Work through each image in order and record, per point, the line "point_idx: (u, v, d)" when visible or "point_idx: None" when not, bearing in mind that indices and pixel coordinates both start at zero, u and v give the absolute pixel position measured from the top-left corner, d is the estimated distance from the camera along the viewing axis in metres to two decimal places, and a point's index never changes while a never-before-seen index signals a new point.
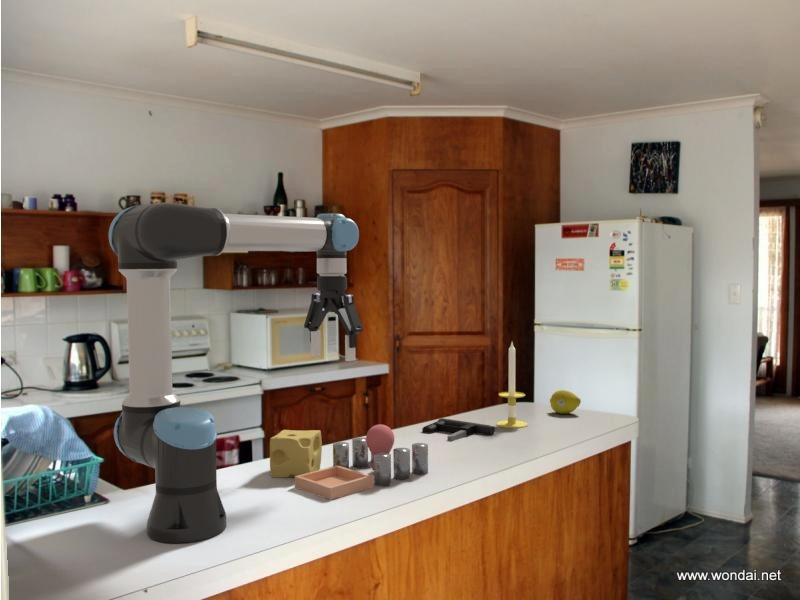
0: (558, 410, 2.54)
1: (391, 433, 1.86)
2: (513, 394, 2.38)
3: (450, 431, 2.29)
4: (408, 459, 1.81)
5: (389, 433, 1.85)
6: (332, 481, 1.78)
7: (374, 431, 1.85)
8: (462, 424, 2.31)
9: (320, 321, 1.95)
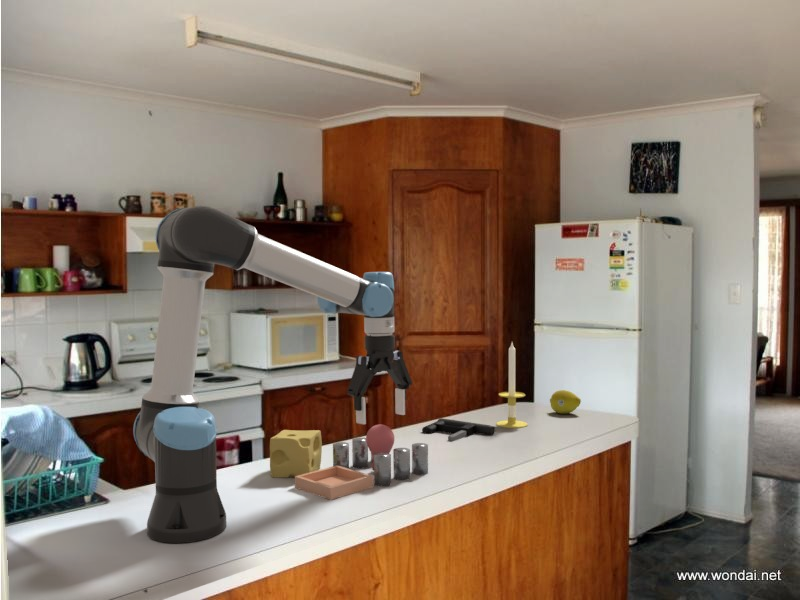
0: (558, 410, 2.54)
1: (391, 433, 1.86)
2: (513, 394, 2.38)
3: (450, 431, 2.29)
4: (408, 459, 1.81)
5: (389, 433, 1.85)
6: (332, 481, 1.78)
7: (374, 431, 1.85)
8: (462, 424, 2.31)
9: (396, 379, 1.90)
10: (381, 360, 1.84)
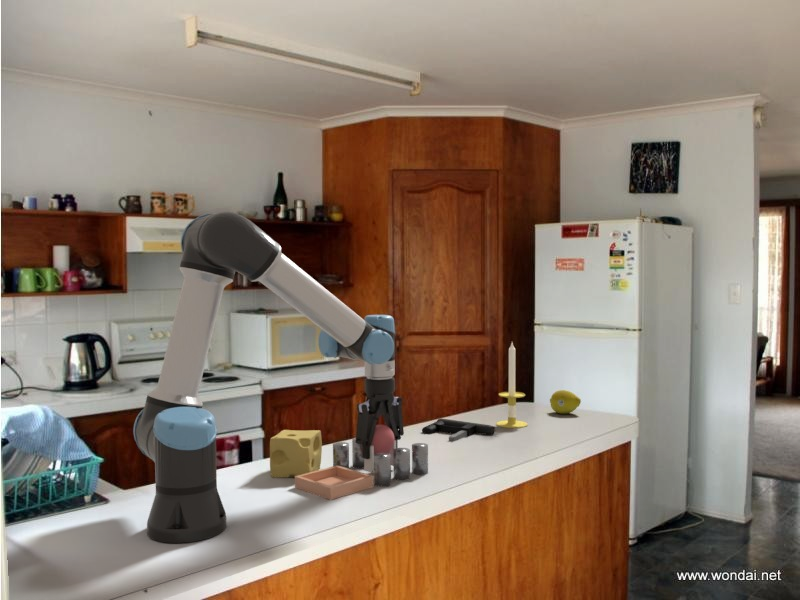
0: (558, 410, 2.54)
1: (391, 433, 1.86)
2: (513, 394, 2.38)
3: (450, 431, 2.28)
4: (408, 459, 1.81)
5: (389, 433, 1.85)
6: (332, 481, 1.78)
7: (374, 431, 1.85)
8: (462, 424, 2.31)
9: (390, 427, 1.89)
10: (381, 404, 1.84)
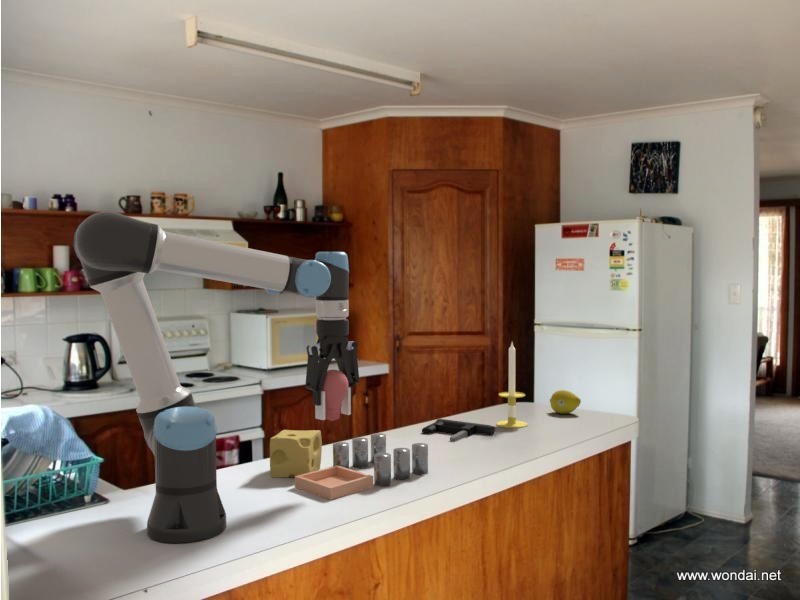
0: (558, 410, 2.54)
1: (344, 378, 1.73)
2: (513, 394, 2.38)
3: (450, 432, 2.28)
4: (408, 459, 1.81)
5: (342, 378, 1.72)
6: (332, 481, 1.78)
7: (326, 376, 1.72)
8: (461, 424, 2.31)
9: (344, 373, 1.76)
10: (333, 346, 1.71)
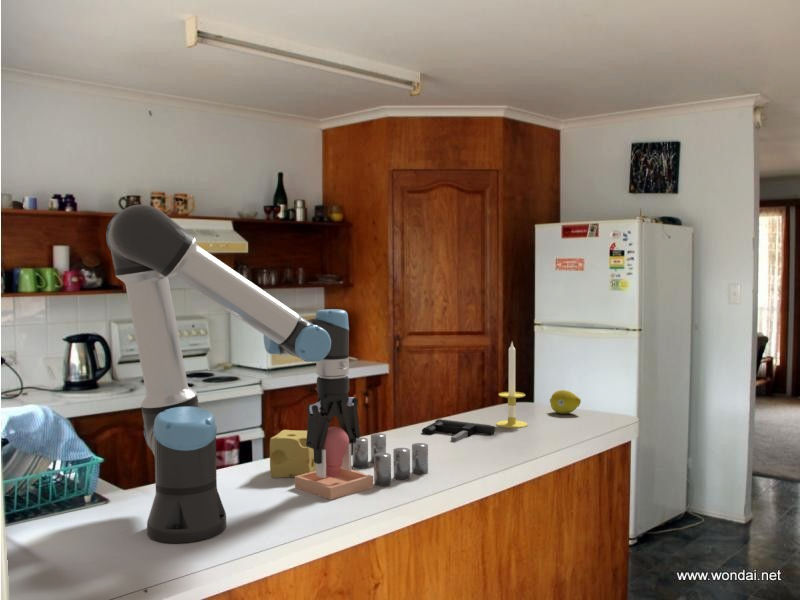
0: (558, 410, 2.54)
1: (345, 436, 1.73)
2: (513, 394, 2.38)
3: (450, 432, 2.28)
4: (408, 459, 1.81)
5: (343, 436, 1.73)
6: (332, 481, 1.78)
7: (327, 434, 1.73)
8: (461, 424, 2.31)
9: (345, 429, 1.77)
10: (333, 404, 1.72)
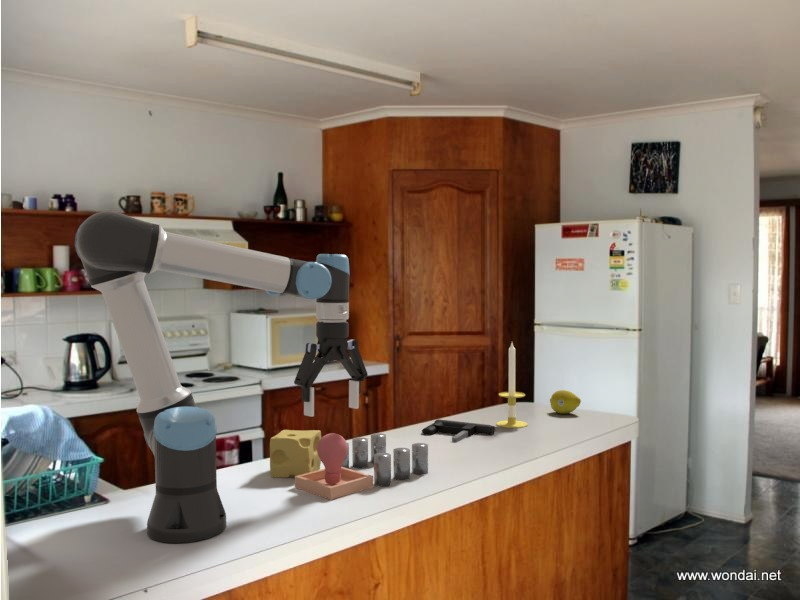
0: (558, 410, 2.54)
1: (343, 442, 1.73)
2: (513, 394, 2.38)
3: (450, 432, 2.27)
4: (408, 459, 1.81)
5: (341, 442, 1.73)
6: None
7: (325, 441, 1.73)
8: (461, 425, 2.30)
9: (350, 370, 1.77)
10: (333, 348, 1.71)
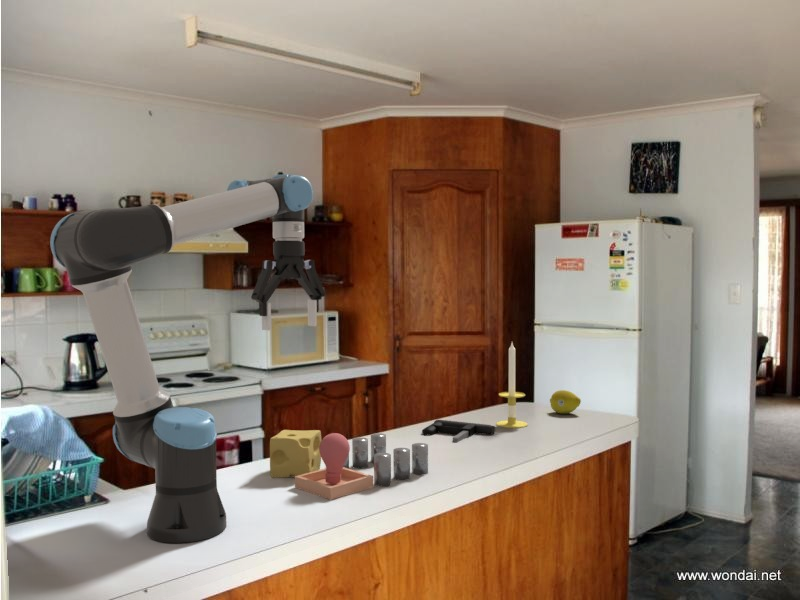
0: (558, 410, 2.54)
1: (346, 442, 1.74)
2: (513, 394, 2.38)
3: (450, 432, 2.27)
4: (408, 459, 1.81)
5: (343, 442, 1.73)
6: None
7: (327, 440, 1.73)
8: (461, 425, 2.30)
9: (308, 289, 1.84)
10: (289, 266, 1.78)
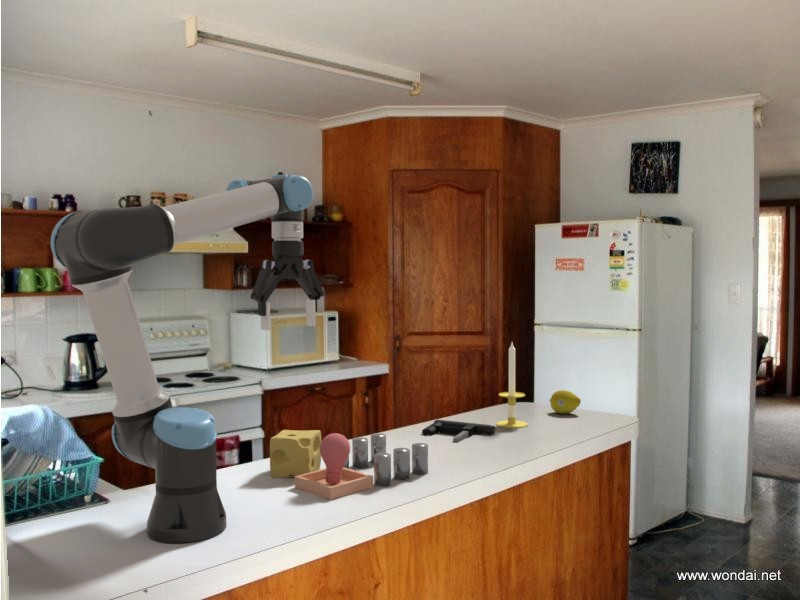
0: (558, 410, 2.54)
1: (346, 443, 1.74)
2: (513, 394, 2.38)
3: (451, 432, 2.27)
4: (408, 459, 1.81)
5: (344, 443, 1.73)
6: None
7: (328, 440, 1.73)
8: (461, 425, 2.30)
9: (306, 289, 1.85)
10: (288, 266, 1.79)
